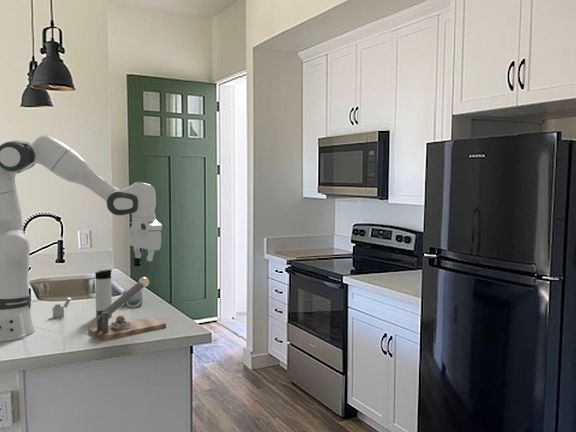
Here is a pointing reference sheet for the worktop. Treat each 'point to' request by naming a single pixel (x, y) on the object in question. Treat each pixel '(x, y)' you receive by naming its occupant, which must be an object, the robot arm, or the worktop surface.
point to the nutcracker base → (129, 331)
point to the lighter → (60, 309)
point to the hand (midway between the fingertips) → (143, 259)
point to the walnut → (120, 319)
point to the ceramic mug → (134, 299)
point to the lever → (125, 297)
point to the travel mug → (103, 290)
